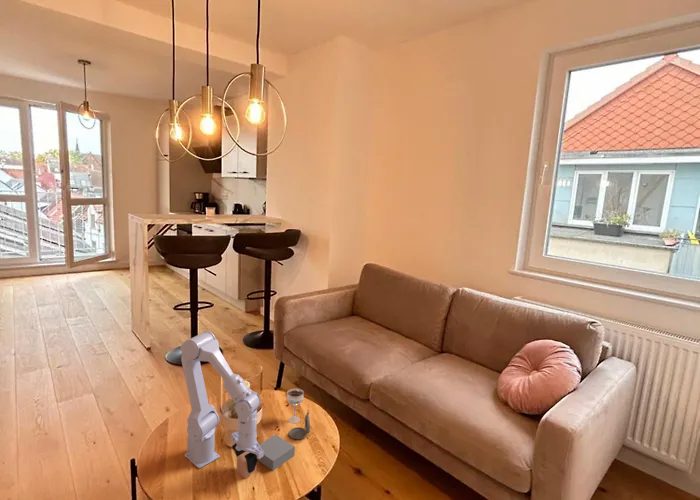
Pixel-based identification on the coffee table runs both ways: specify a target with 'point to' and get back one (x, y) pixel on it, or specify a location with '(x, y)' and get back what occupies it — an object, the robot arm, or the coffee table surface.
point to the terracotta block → (243, 465)
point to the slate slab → (276, 452)
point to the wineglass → (294, 402)
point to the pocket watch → (301, 429)
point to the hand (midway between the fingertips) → (246, 467)
